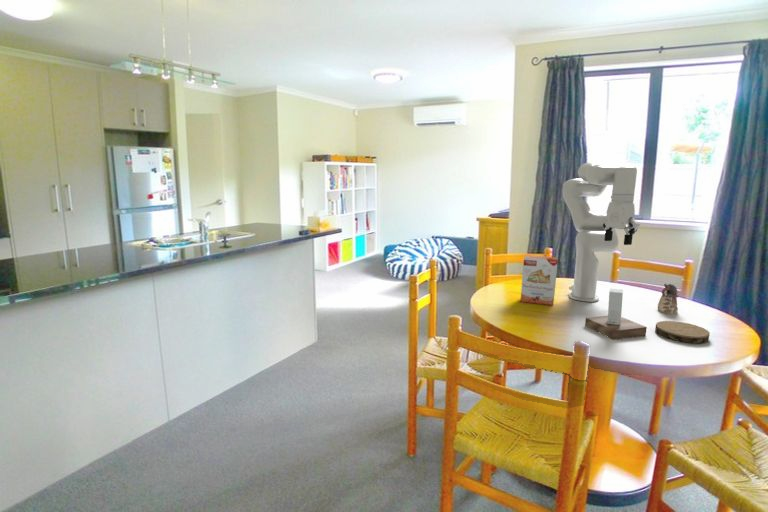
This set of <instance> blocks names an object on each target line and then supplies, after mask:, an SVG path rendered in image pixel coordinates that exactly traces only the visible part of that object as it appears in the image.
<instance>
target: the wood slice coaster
mask: <svg viewBox="0 0 768 512" xmlns="http://www.w3.org/2000/svg"><path fill="white" fill-rule="evenodd" d="M654 332H655V334H656V335H658V336H659V337H661V338H664V339H666V340H669V341H674V342H676V343H681V344H688V345H704V344H707V343H708V342H709V339H710V331H708V330H707V329H706V328H704V327H701V326H699V325H696V324H691V323H688V322H683V321H676V320H661V321H658V322H656V323H655V330H654Z"/></svg>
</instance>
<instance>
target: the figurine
mask: <svg viewBox="0 0 768 512" xmlns="http://www.w3.org/2000/svg"><path fill="white" fill-rule="evenodd" d="M663 286H664V288H663V289H661V294H662V295H661V296H660V298H659V301H658V303H657V310H658V312H660V311H661V312H660V313H663V312H664V314H668V313H669V314H668V315H675V314H678V310H679V309H678V299H677V298H679V297H680V296H679V295H678V287H677V286H676V285H675V284H673V283H668V284H667V283H664V284H663Z"/></svg>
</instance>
